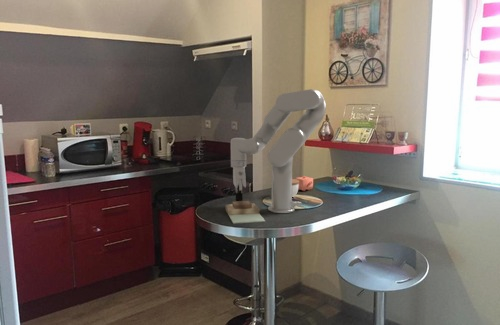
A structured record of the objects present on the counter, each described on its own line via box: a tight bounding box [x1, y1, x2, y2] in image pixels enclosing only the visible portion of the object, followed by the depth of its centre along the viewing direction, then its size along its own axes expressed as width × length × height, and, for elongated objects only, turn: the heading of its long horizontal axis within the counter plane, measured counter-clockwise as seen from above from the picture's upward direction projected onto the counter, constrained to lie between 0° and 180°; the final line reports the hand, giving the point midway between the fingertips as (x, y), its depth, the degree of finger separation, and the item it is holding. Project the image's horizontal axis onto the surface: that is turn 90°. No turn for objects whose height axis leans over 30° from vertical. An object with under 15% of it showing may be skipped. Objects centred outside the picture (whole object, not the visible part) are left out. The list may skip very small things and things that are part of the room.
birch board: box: [225, 202, 260, 216], centre depth 199 cm, size 14×11×2 cm
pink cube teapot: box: [294, 175, 314, 192], centre depth 245 cm, size 8×12×8 cm, turn 34°
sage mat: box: [228, 213, 266, 225], centre depth 188 cm, size 14×12×1 cm
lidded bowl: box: [292, 178, 299, 197], centre depth 228 cm, size 13×13×11 cm
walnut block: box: [231, 200, 252, 209], centre depth 199 cm, size 8×7×2 cm
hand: (239, 200), depth 207 cm, fingers closed
